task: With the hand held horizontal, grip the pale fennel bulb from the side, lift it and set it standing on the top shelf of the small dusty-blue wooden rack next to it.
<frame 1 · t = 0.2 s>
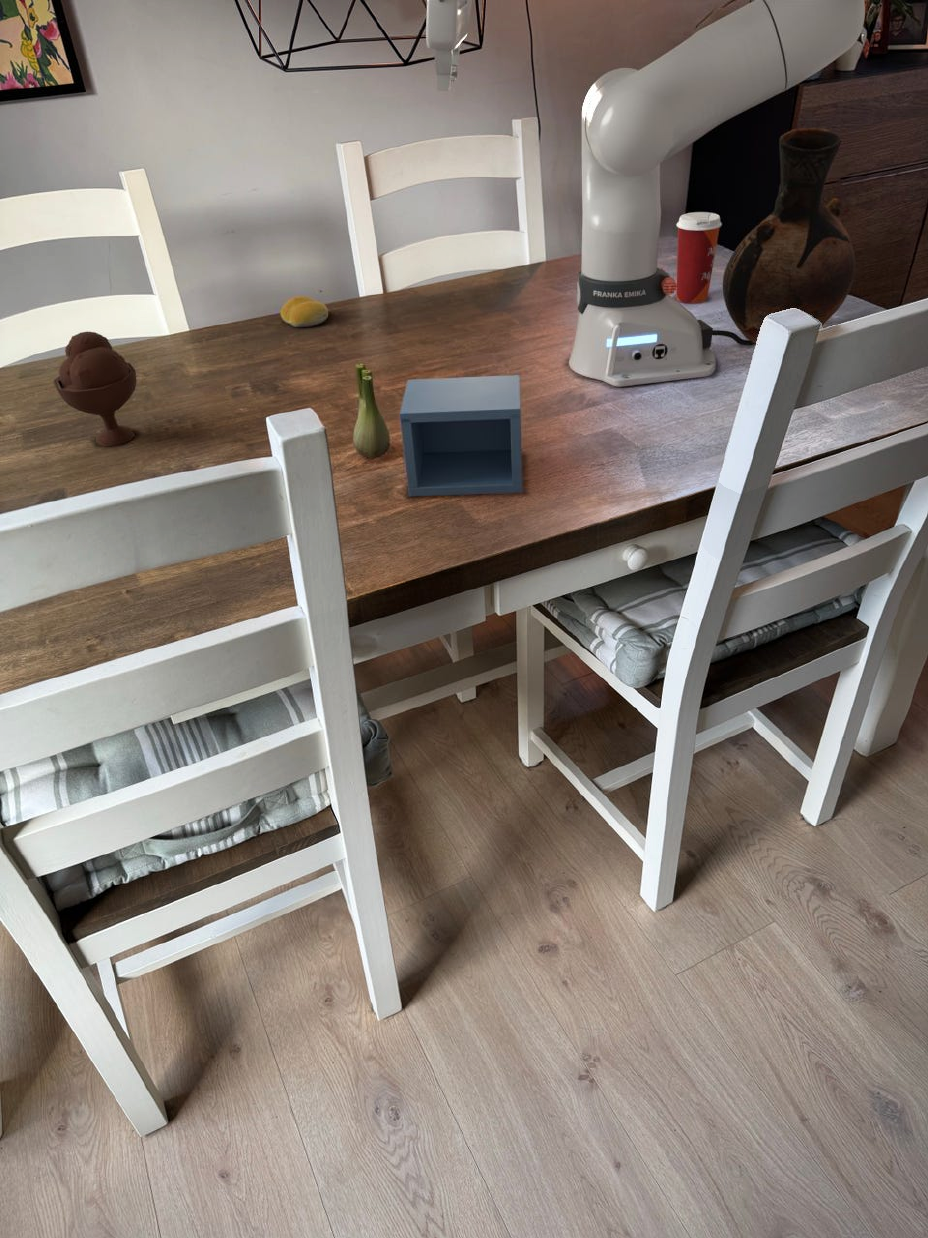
hand: (446, 85, 113), 39 cm above the table, tool pointing down, fingers open, 8 cm apart
paper cup: (691, 299, 158), on the table
ice cream bowl: (116, 439, 125), on the table
bread roll: (305, 321, 161), on the table
fennel bulb: (373, 454, 116), on the table
rack: (467, 475, 109), on the table
ceramic vessel: (777, 341, 139), on the table
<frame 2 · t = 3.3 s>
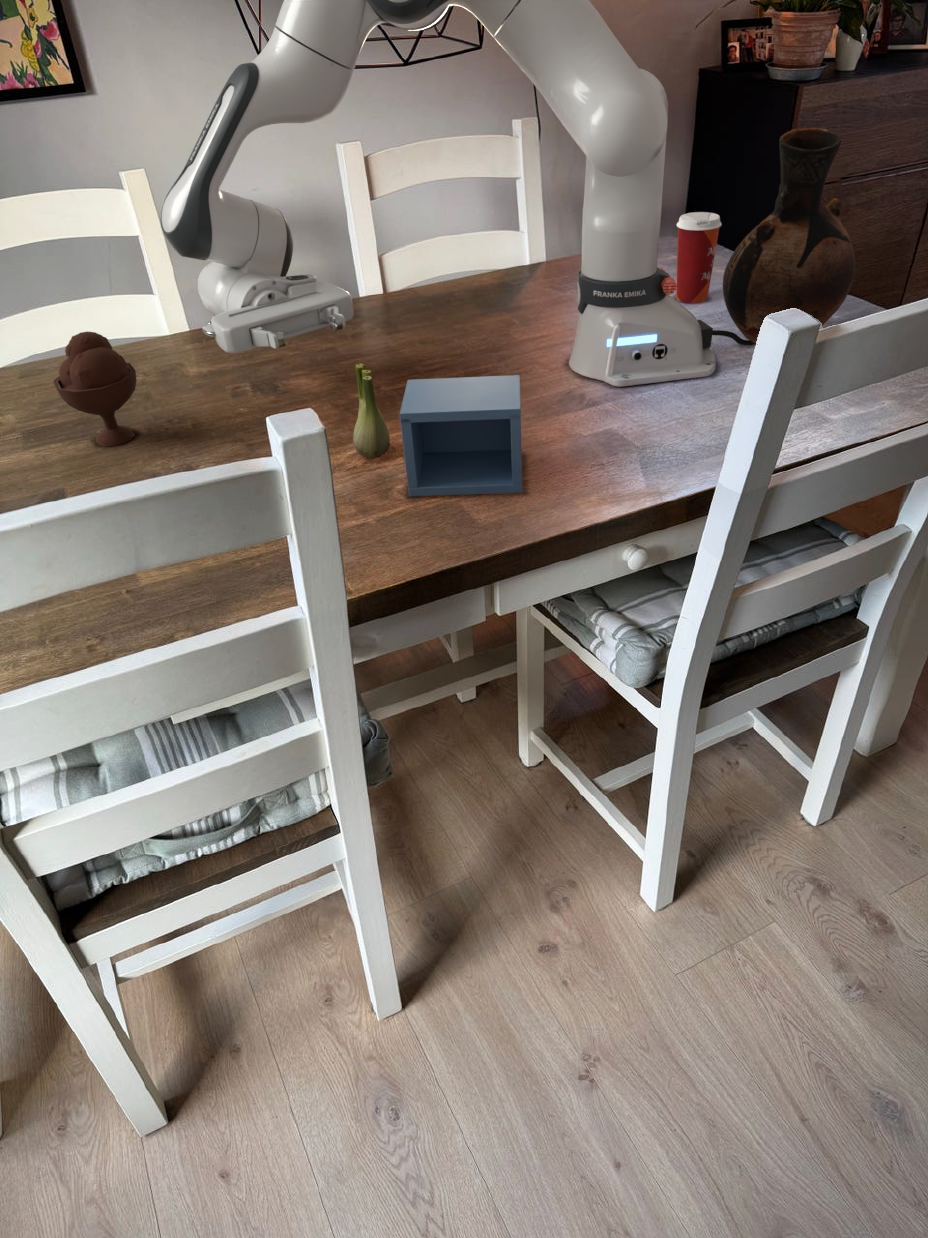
hand: (311, 332, 115), 14 cm above the table, tool horizontal, fingers open, 8 cm apart
nothing on the table moved.
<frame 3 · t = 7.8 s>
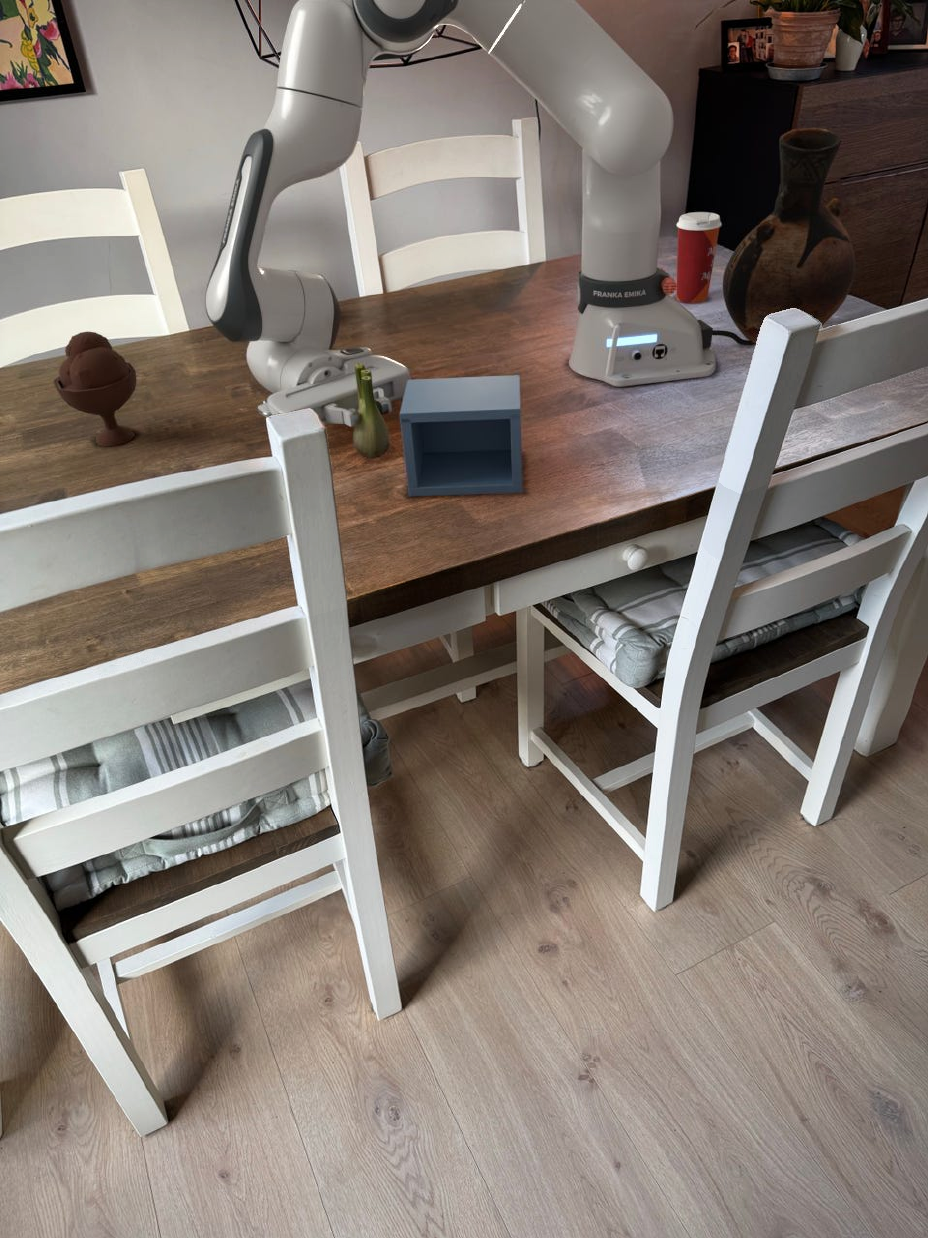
hand: (371, 413, 111), 6 cm above the table, tool horizontal, fingers closed on fennel bulb, 3 cm apart
fennel bulb: (373, 454, 116), on the table, touching gripper
everything else where it was.
when the fingers open (17 cm above the table, at t = 14.8 s): fennel bulb stays where it is, resting on rack.
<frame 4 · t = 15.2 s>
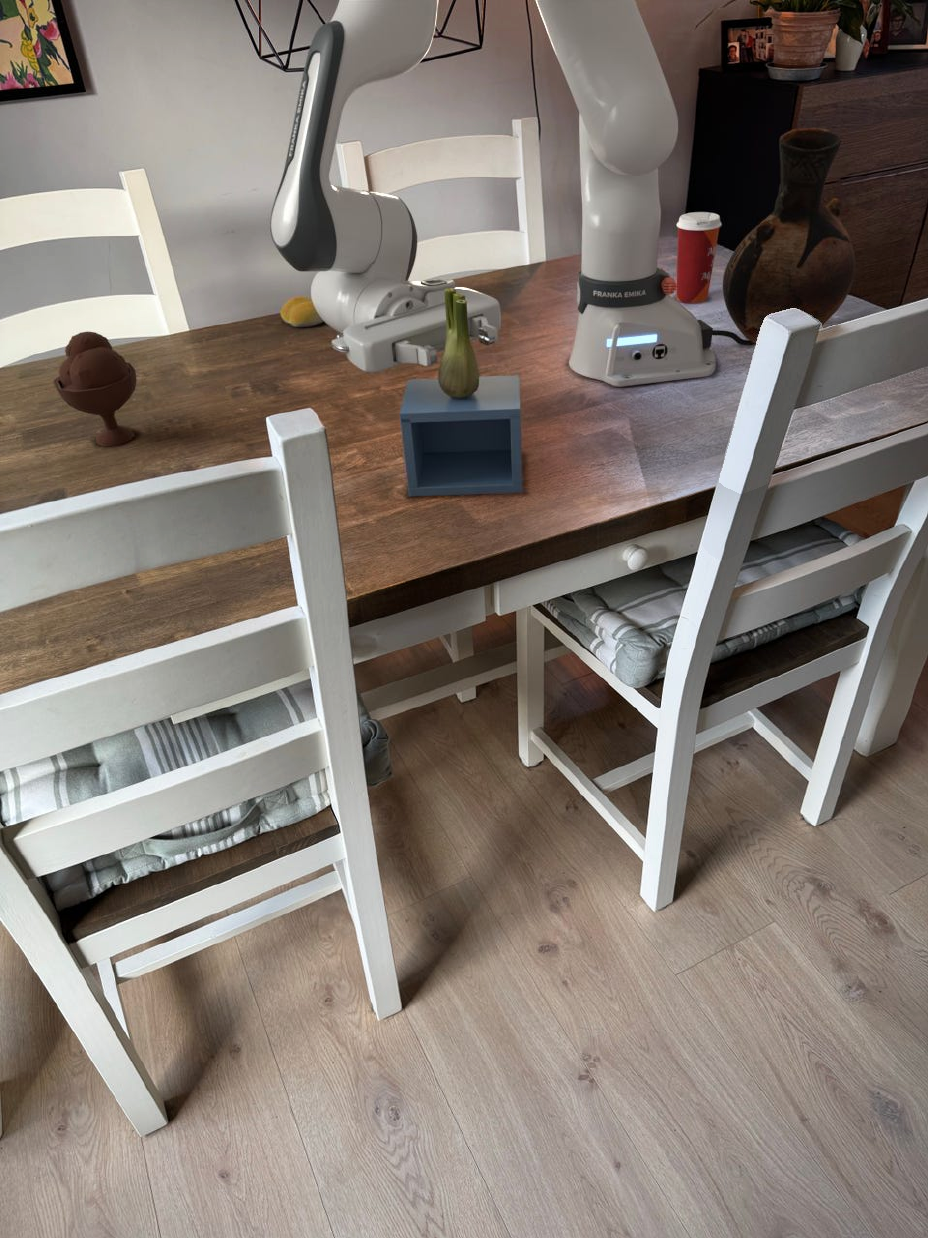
hand: (463, 347, 98), 17 cm above the table, tool horizontal, fingers open, 7 cm apart
fennel bulb: (459, 395, 102), point 11 cm above the table, touching rack
everything else where it was.
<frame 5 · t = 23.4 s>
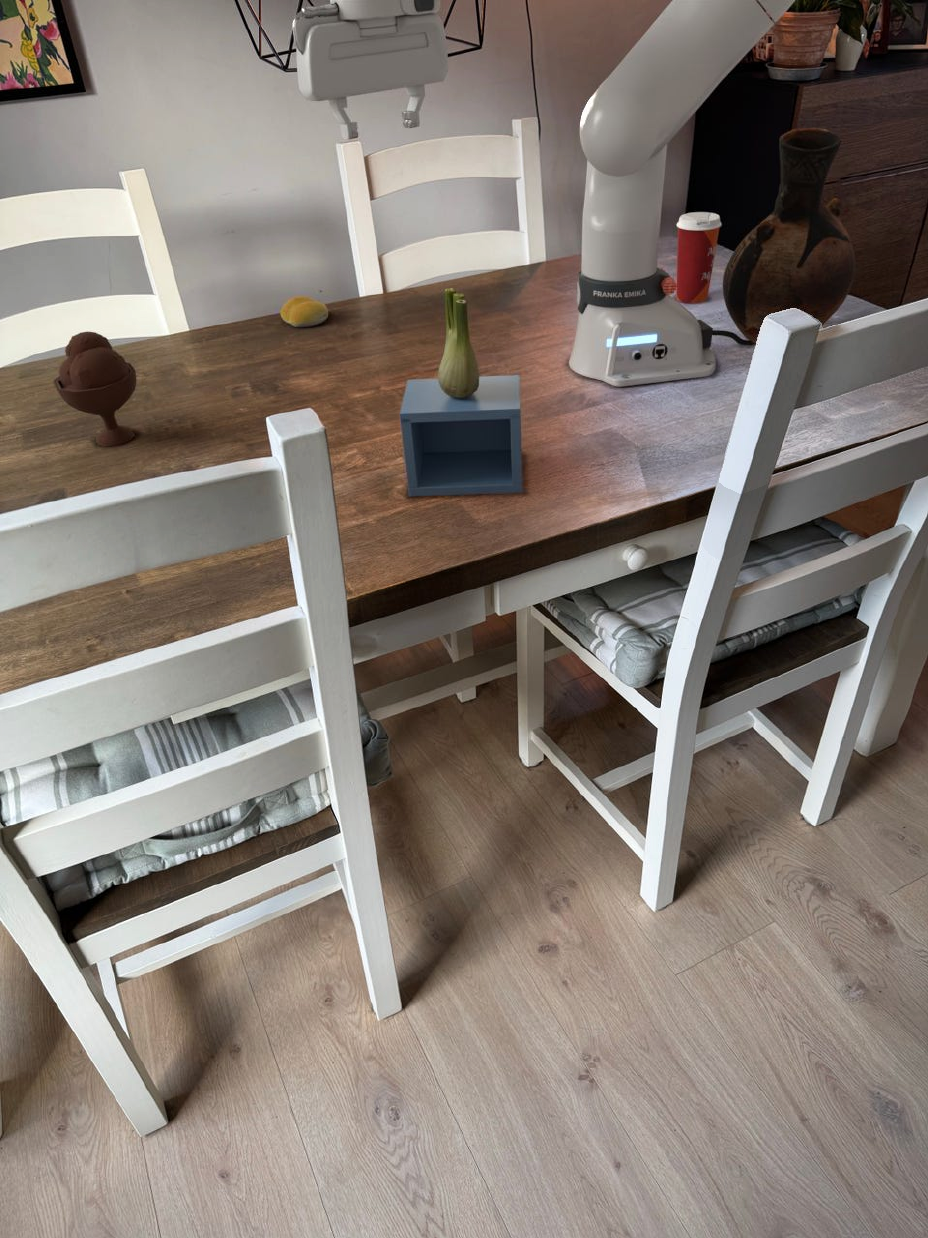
hand: (381, 132, 110), 35 cm above the table, tool pointing down, fingers open, 8 cm apart
nothing on the table moved.
at the end: fennel bulb inside the target area on the rack (0.2 cm from its centre), point 10.8 cm above the rack's base; fennel bulb tilted 0°; the gripper is holding nothing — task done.
